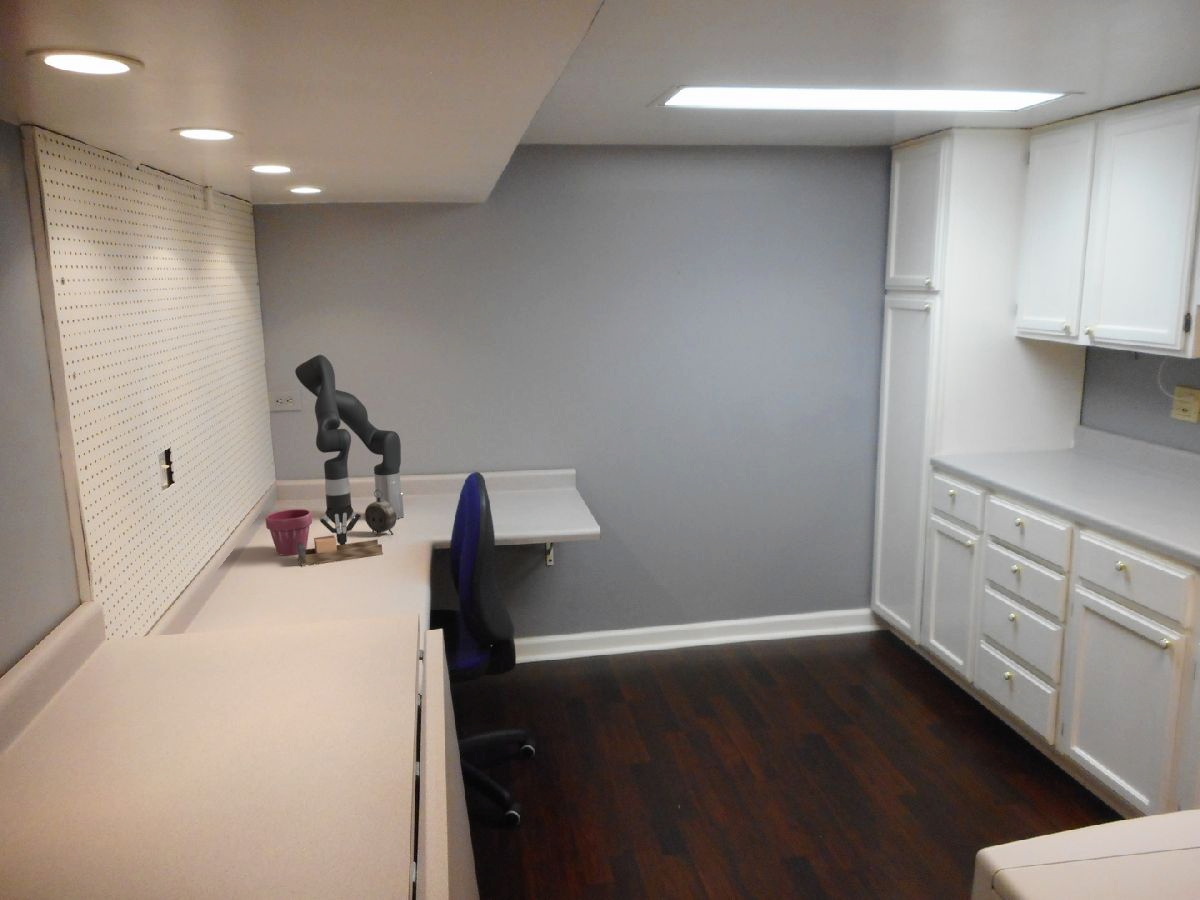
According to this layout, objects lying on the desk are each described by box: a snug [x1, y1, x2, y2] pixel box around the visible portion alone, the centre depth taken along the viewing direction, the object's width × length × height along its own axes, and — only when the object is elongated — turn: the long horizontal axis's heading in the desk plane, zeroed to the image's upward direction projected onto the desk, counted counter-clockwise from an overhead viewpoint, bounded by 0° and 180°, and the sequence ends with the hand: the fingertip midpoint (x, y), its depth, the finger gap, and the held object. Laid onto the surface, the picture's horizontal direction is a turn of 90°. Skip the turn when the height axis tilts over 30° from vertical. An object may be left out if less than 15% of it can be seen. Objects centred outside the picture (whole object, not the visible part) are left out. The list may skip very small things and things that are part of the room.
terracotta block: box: [313, 534, 337, 554], centre depth 273 cm, size 6×5×6 cm
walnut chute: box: [297, 539, 384, 567], centre depth 275 cm, size 25×9×6 cm, turn 116°
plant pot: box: [265, 508, 313, 556], centre depth 281 cm, size 14×14×13 cm
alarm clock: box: [364, 489, 397, 537], centre depth 299 cm, size 11×5×16 cm, turn 65°
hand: (342, 544), depth 275 cm, fingers closed
